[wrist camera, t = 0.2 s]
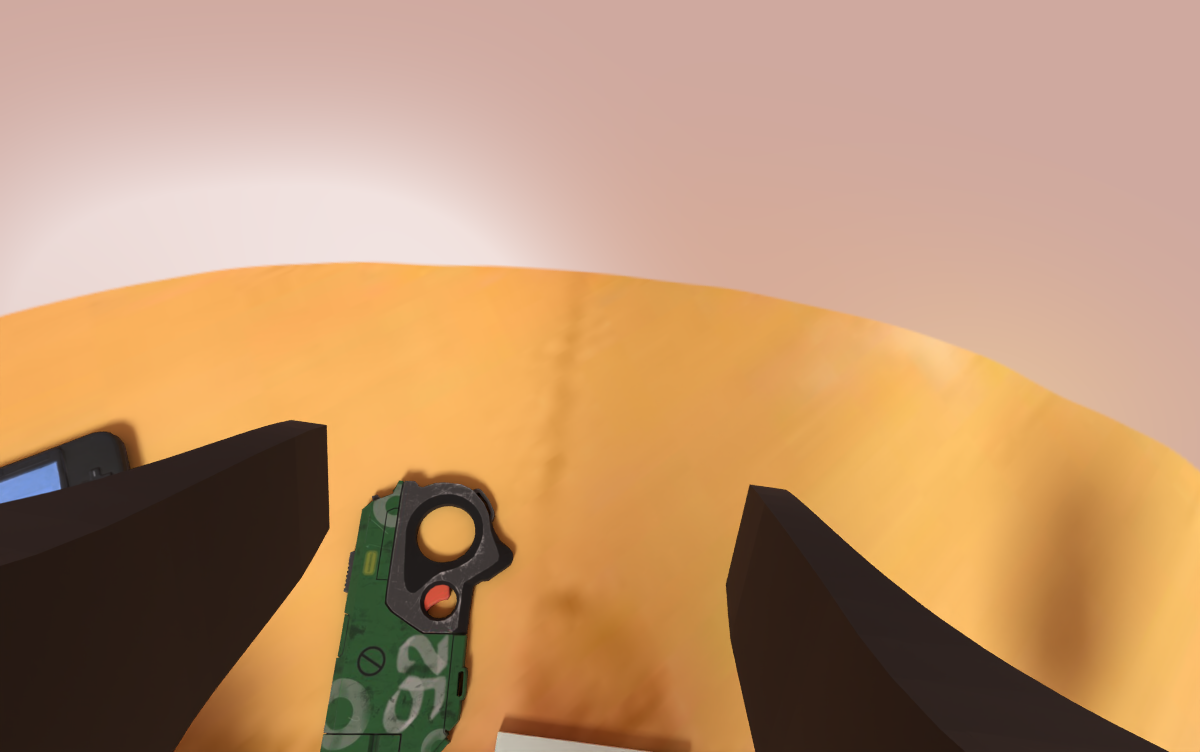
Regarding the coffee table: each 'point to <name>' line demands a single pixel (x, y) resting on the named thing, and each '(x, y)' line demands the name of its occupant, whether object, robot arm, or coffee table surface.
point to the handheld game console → (64, 466)
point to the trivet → (549, 744)
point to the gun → (406, 625)
